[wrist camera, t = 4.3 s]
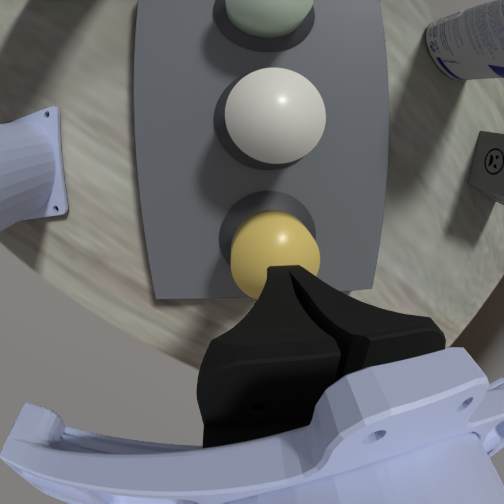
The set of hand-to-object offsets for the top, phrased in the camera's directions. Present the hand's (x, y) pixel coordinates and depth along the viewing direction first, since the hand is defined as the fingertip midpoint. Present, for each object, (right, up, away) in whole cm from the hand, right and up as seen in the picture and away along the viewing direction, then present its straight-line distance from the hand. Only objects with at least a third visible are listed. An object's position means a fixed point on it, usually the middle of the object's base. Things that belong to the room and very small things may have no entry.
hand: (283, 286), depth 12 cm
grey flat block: (-1, +9, +5) cm, 10 cm away
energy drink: (+14, +17, +2) cm, 23 cm away
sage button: (-1, +15, -1) cm, 15 cm away
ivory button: (0, +8, +1) cm, 8 cm away
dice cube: (+20, +9, +6) cm, 23 cm away
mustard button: (0, +2, +4) cm, 4 cm away
